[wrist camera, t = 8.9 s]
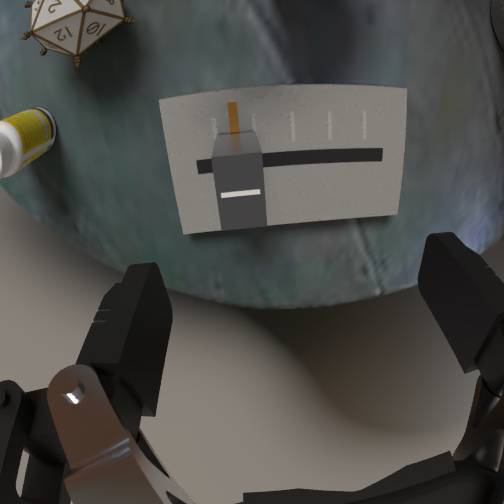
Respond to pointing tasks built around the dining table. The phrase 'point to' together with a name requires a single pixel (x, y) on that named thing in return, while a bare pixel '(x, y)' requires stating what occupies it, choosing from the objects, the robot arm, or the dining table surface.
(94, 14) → the game die
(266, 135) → the console board
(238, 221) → the fader knob
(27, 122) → the supplement bottle
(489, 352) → the robot arm
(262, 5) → the dining table surface
